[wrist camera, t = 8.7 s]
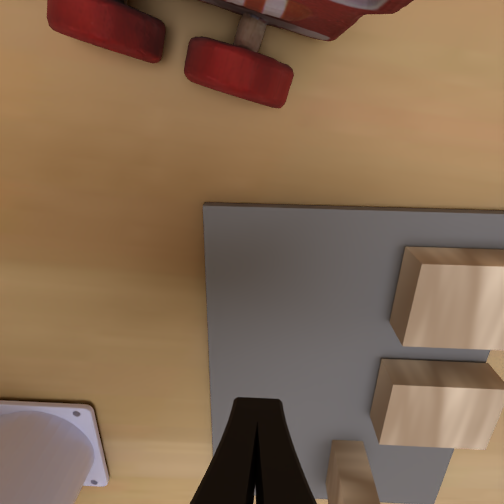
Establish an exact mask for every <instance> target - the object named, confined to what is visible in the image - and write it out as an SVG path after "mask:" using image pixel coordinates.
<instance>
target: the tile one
mask: <svg viewBox="0 0 504 504" xmlns="http://www.w3.org/2000/svg"><path fill="white" fill-rule="evenodd" d="M325 484H326V491H327V497H328V504H380V501H379V497H378V493H377V490H376V486H375V483H374V479H373V476H372V472H371V468H370V465H369V461H368V458H367V454H366V450H365V447H364V443H363V441H350V440H332V445H331V452H330V458H329V464H328V471H327V477H326V483H325Z"/></svg>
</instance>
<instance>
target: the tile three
mask: <svg viewBox="0 0 504 504" xmlns="http://www.w3.org/2000/svg"><path fill="white" fill-rule="evenodd" d="M389 323H390V325H391V326H392V328H393V330H394V332H395V334H396V336H397V337H398V339H399V341H400V343H401V345H402V346H408V347H433V348H457V349H482V350H504V250H500V249H468V248H437V247H405V251H404V256H403V260H402V265H401V270H400V274H399V279H398V284H397V289H396V293H395V298H394V303H393V308H392V312H391V317H390V322H389Z"/></svg>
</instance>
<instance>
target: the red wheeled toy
mask: <svg viewBox="0 0 504 504" xmlns="http://www.w3.org/2000/svg"><path fill="white" fill-rule="evenodd" d="M199 1H202V2H205V3H208V4H212V5H215V6H218V7H221V8H224V9H227V10H230V11H232V12H234V13H237V14H240V15H242V17H241V19H240V21H239V24H238V28H237V32H236V35H235V40H234V43H233V45H232V44H228V43H225V42H221V41H218V40H214V39H211V38H208V37H194V38H191V40H190V41H189V45H188V51H187V56H186V61H185V68H184V74H185V76H186V77H187V78H188V79H189V80H190V81H191V82H194V83H196V84H199V85H202V86H205V87H208V88H211V89H214V90H217V91H220V92H223V93H226V94H230V95H233V96H236V97H239V98H243V99H246V100H249V101H252V102H256V103H259V104H262V105H266V106H269V107H273V108H281V107H282V106H283V105H284V104H285V102H286V99H287V96H288V92H289V89H290V86H291V82H292V79H293V76H294V74H293V70H292V68H291V67H290V66H288V65H287V64H284V63H281V62H278V61H277V60H275V59H273V58H271V57H268V56H266V55H263V54H260V53H258V51H259V48H260V46H261V42H262V39H263V36H264V32H265V29H266V25H271V26H275V27H278V28H282V29H286V30H289V31H292V32H295V33H298V34H301V35H304V36H308V37H311V38H315V39H319V40H324V41H332V40H335V39H337V38H338V36H340V35H341V34H342V33H344V32H345V31H346V30H347V29H348V28H350V27H351V26H352V25H353V24H354V23H356V22H357V20H358V19H359V18H360V17H362V16H363V15H365V14H393V13H395V12H397V11H399V10H400V9H401V8H403V7H405V6H407V5H408V4H409V3H410V2H412V1H413V0H199ZM47 19H48V23H49V26H50V27H51V28H52V29H53V30H54V31H56V32H59V33H61V34H64V35H67V36H70V37H72V38H75V39H78V40H81V41H84V42H87V43H90V44H93V45H96V46H99V47H102V48H105V49H108V50H111V51H114V52H118V53H121V54H124V55H127V56H131V57H134V58H137V59H140V60H143V61H146V62H150V63H157V62H159V61H160V60H161V57H162V52H163V45H164V39H165V32H166V28H165V25H164V23H163V22H162V21H161V20H159V19H158V18H155V17H153V16H151V15H148V14H146V13H144V12H141V11H139V10H137V9H135V8H133V7H130V6H128V5H127V0H48V2H47Z"/></svg>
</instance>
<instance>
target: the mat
mask: <svg viewBox="0 0 504 504" xmlns="http://www.w3.org/2000/svg"><path fill="white" fill-rule="evenodd" d="M203 224H204V248H205V272H206V297H207V321H208V345H209V369H210V394H211V418H212V442H213V456H214V454H215V452H216V449H217V447H218V445H219V443H220V440H221V438H222V435H223V433H224V430H225V427H226V425H227V422H228V419H229V416H230V413H231V409H232V405H233V401H234V399H235V398H237V397H250V398H273V399H280V400H281V401H282V404H283V410H284V414H285V418H286V422H287V426H288V429H289V433H290V436H291V439H292V442H293V445H294V448H295V451H296V454H297V456H298V459H299V462H300V464H301V467H302V469H303V472H304V475H305V477H306V480H307V482H308V484H309V487H310V489H311V492H312V494H313V496H314V498H315V499H328V497H327V491H326V484H325V483H326V477H327V471H328V464H329V458H330V452H331V445H332V440H350V441H363V443H364V447H365V450H366V454H367V458H368V461H369V465H370V468H371V472H372V476H373V479H374V483H375V486H376V490H377V493H378V497H379V501H380V502H386V503H404V504H434V503H435V500H436V497H437V494H438V492H439V489H440V486H441V484H442V481H443V478H444V475H445V473H446V470H447V467H448V464H449V462H450V459H451V456H452V453H453V451H454V448H439V447H418V446H398V445H379V443H378V440H377V437H376V434H375V430H374V427H373V424H372V421H371V418H370V412H371V407H372V402H373V397H374V393H375V388H376V383H377V379H378V374H379V369H380V364H381V360H382V359H400V360H424V361H448V362H472V363H486V361H487V358H488V355H489V352H490V350H482V349H457V348H433V347H408V346H402V345H401V343H400V341H399V339H398V337H397V336H396V334H395V332H394V330H393V328H392V326H391V325H390V323H389V322H390V317H391V312H392V308H393V303H394V298H395V293H396V289H397V284H398V279H399V274H400V270H401V265H402V260H403V256H404V251H405V247H437V248H468V249H500V250H504V211H497V210H462V209H426V208H391V207H355V206H320V205H284V204H248V203H213V202H205V203H204V204H203ZM254 495H256V488H255V492H254Z"/></svg>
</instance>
